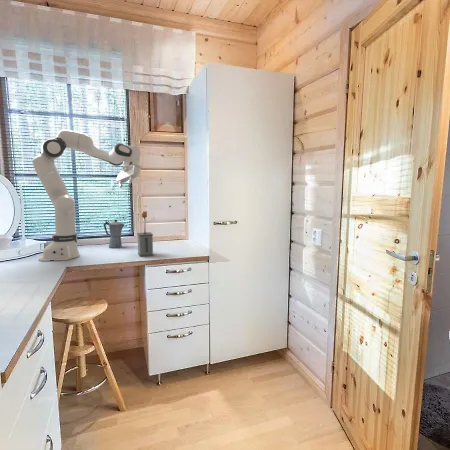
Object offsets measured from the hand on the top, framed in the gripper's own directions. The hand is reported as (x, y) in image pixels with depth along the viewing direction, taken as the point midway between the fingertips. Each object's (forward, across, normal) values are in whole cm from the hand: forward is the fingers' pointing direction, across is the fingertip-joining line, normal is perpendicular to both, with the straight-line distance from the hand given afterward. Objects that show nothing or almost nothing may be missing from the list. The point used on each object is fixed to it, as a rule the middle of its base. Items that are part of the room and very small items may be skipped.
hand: (124, 185), depth 200 cm
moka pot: (+29, -33, +24) cm, 50 cm away
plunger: (+31, +3, +23) cm, 39 cm away
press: (+39, +2, +27) cm, 47 cm away
